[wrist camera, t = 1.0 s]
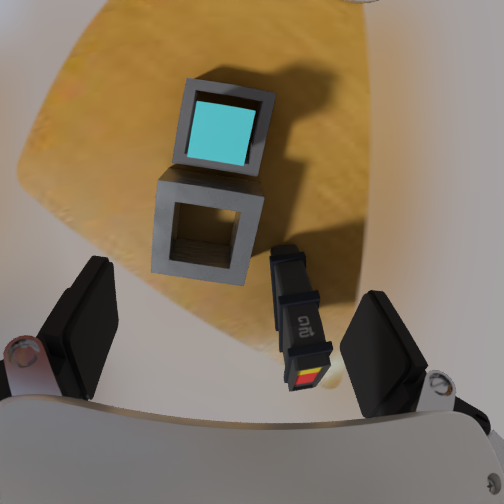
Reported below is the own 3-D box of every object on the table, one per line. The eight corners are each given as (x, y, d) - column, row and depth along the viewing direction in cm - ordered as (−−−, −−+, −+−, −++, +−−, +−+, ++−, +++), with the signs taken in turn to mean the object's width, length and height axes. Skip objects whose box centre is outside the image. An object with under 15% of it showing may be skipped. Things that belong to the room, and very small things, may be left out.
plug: (206, 101, 27) (196, 101, 19) (248, 108, 27) (255, 110, 19) (199, 141, 28) (187, 156, 20) (239, 147, 29) (243, 166, 21)
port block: (168, 167, 29) (157, 180, 25) (259, 182, 31) (264, 197, 26) (160, 249, 34) (150, 272, 29) (241, 261, 35) (243, 286, 31)
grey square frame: (190, 80, 25) (186, 78, 23) (271, 94, 27) (276, 93, 24) (177, 157, 29) (172, 162, 26) (254, 169, 30) (257, 176, 28)
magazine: (301, 222, 32) (336, 362, 23) (295, 284, 42) (316, 389, 33) (265, 226, 31) (290, 370, 23) (268, 288, 42) (285, 394, 33)
